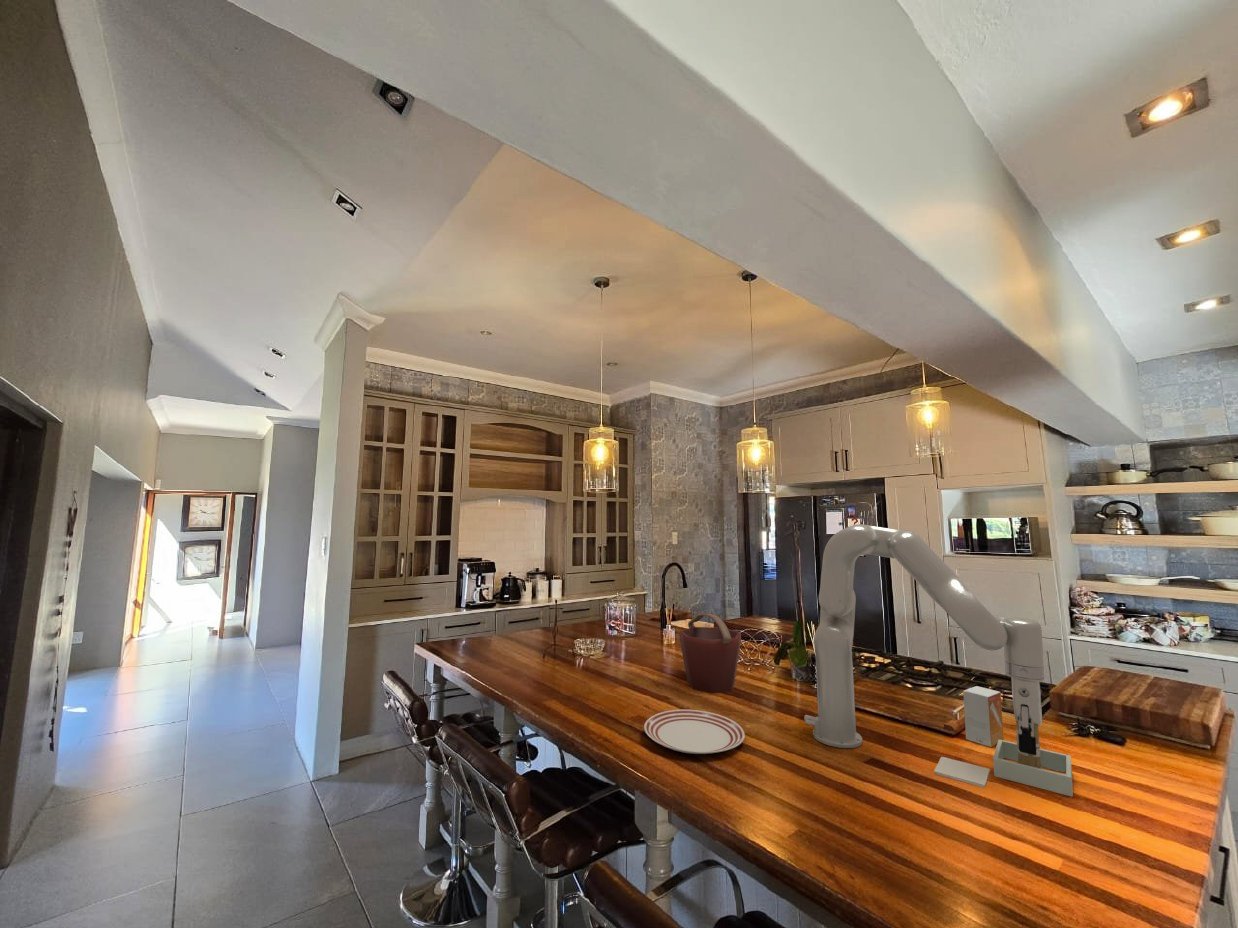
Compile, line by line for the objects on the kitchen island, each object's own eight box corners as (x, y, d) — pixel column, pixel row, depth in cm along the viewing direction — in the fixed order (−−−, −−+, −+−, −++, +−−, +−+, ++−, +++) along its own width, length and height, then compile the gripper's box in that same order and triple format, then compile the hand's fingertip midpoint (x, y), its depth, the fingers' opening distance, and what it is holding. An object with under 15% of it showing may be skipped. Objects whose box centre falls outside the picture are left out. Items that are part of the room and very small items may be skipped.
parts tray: (994, 775, 122) (992, 758, 123) (999, 755, 133) (998, 739, 133) (1072, 796, 113) (1071, 777, 113) (1072, 773, 124) (1070, 755, 124)
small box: (991, 747, 137) (988, 696, 139) (965, 739, 142) (962, 690, 144) (1004, 740, 142) (1001, 691, 143) (978, 732, 147) (975, 685, 148)
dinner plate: (763, 738, 143) (763, 726, 143) (708, 774, 123) (708, 759, 124) (682, 713, 162) (682, 702, 162) (623, 740, 142) (623, 727, 142)
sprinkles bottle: (1045, 773, 120) (1042, 713, 122) (1022, 770, 122) (1019, 711, 123) (1036, 764, 125) (1033, 707, 126) (1013, 761, 126) (1011, 704, 127)
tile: (934, 773, 123) (933, 770, 123) (941, 758, 131) (941, 756, 131) (985, 787, 117) (984, 784, 117) (989, 771, 124) (989, 768, 124)
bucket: (675, 675, 199) (675, 609, 202) (731, 674, 202) (729, 608, 205) (691, 697, 175) (690, 622, 178) (754, 695, 178) (752, 620, 180)
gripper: (1043, 682, 117) (1047, 767, 115) (1045, 666, 129) (1049, 742, 128) (1001, 675, 122) (1005, 756, 120) (1007, 660, 134) (1011, 733, 132)
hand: (1028, 748), depth 124 cm, fingers closed on sprinkles bottle, 4 cm apart
